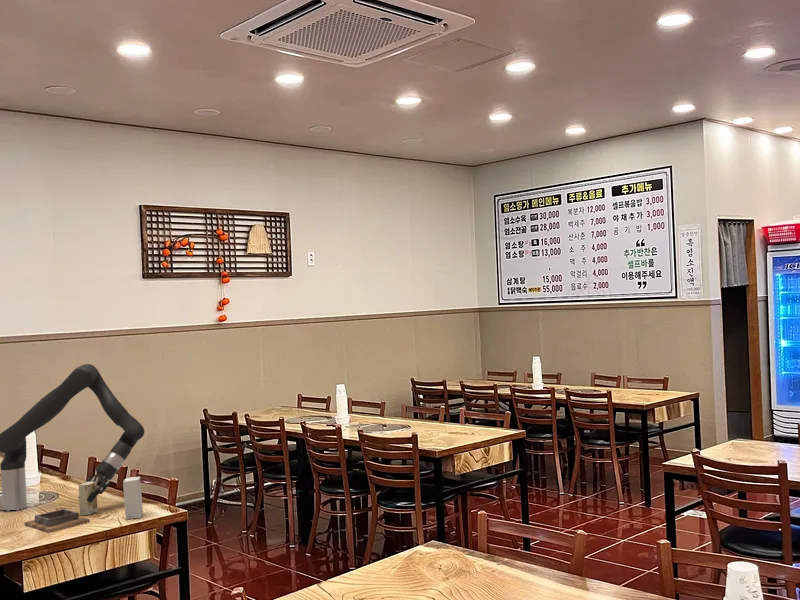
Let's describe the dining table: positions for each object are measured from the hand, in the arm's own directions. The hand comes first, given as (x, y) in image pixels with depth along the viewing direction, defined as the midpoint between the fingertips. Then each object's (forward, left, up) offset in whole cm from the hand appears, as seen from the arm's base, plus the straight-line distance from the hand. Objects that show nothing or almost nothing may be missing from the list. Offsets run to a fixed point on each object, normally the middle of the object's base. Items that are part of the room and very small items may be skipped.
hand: (84, 500), depth 317 cm
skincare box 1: (0, +2, -6) cm, 6 cm away
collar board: (+4, -13, -6) cm, 15 cm away
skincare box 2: (+22, +9, -6) cm, 24 cm away
